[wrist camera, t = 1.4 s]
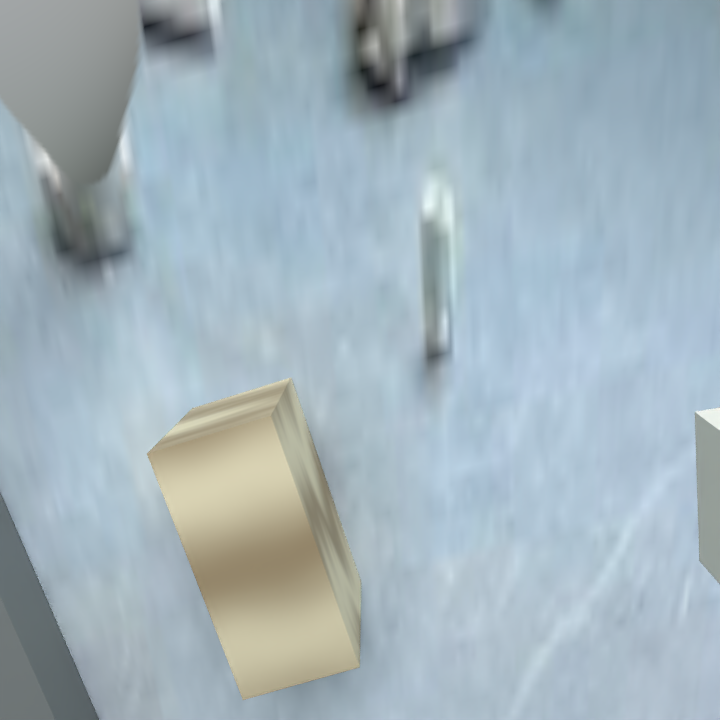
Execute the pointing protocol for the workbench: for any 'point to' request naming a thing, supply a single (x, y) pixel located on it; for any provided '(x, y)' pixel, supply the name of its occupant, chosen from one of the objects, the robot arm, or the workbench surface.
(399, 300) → the workbench surface
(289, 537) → the key block
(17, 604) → the mount plate
